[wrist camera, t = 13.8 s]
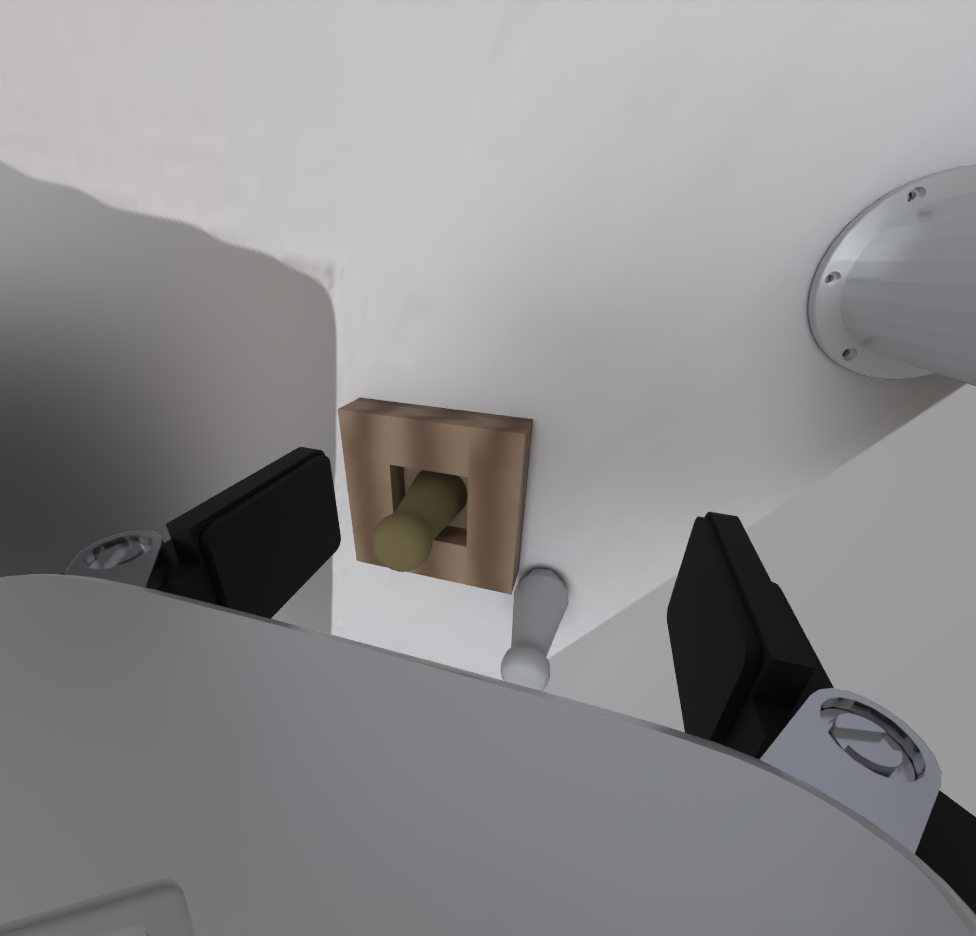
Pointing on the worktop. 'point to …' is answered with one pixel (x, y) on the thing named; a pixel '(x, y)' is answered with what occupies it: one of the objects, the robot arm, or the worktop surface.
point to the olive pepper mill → (418, 520)
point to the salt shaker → (534, 628)
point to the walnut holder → (451, 450)
